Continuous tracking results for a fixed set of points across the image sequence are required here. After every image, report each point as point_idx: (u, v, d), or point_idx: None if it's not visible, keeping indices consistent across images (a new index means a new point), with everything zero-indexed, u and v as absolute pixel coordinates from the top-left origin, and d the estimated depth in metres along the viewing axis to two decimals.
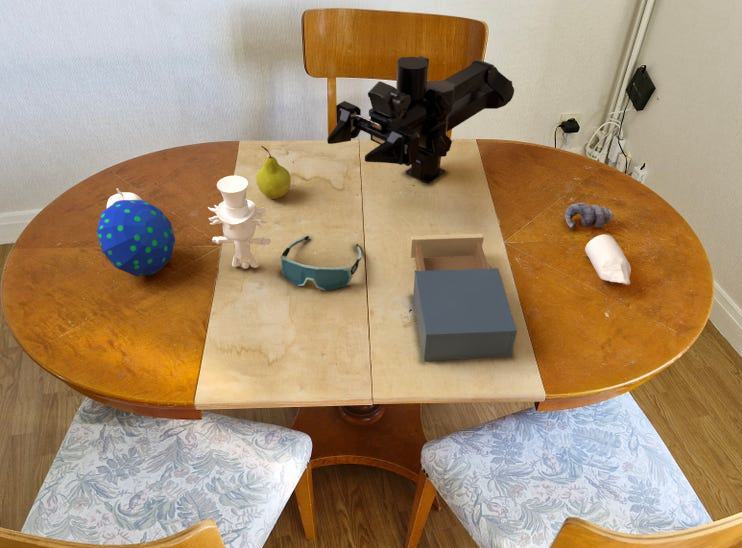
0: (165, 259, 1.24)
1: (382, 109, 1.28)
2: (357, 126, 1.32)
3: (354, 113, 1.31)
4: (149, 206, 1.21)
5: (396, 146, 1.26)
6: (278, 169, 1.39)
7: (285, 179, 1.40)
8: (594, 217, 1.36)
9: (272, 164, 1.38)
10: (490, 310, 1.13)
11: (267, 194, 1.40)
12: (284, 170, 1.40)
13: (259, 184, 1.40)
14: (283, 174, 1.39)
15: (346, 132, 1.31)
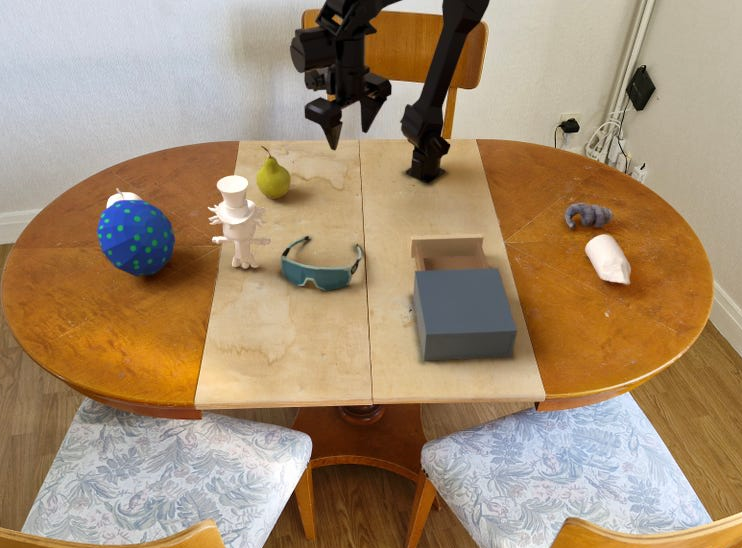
0: (165, 259, 1.24)
1: None
2: None
3: None
4: (149, 206, 1.21)
5: None
6: (278, 169, 1.39)
7: (285, 179, 1.40)
8: (594, 217, 1.36)
9: (272, 164, 1.38)
10: (490, 310, 1.13)
11: (267, 194, 1.40)
12: (284, 170, 1.40)
13: (259, 184, 1.40)
14: (283, 174, 1.39)
15: (368, 106, 1.33)
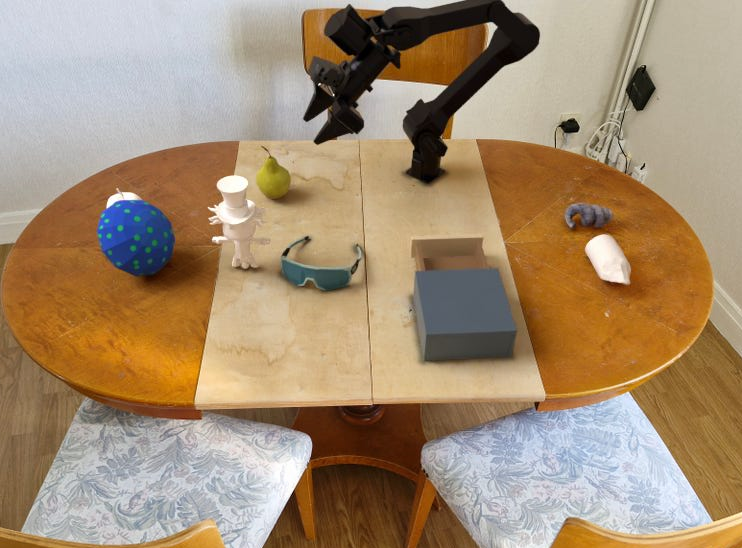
0: (165, 259, 1.24)
1: None
2: None
3: None
4: (149, 206, 1.21)
5: None
6: (278, 169, 1.39)
7: (285, 179, 1.40)
8: (594, 217, 1.36)
9: (272, 164, 1.38)
10: (490, 310, 1.13)
11: (267, 194, 1.40)
12: (284, 170, 1.40)
13: (259, 184, 1.40)
14: (283, 174, 1.39)
15: (323, 100, 1.38)
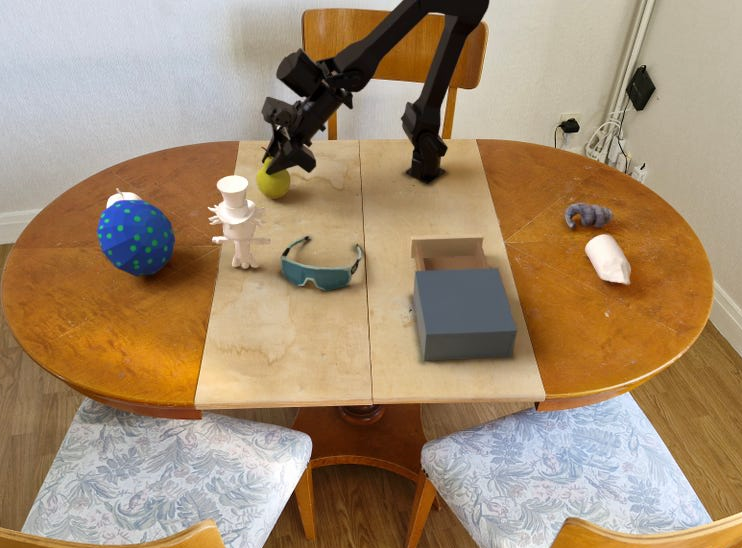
0: (165, 259, 1.24)
1: None
2: None
3: None
4: (149, 206, 1.21)
5: None
6: None
7: (285, 180, 1.39)
8: (594, 217, 1.36)
9: None
10: (490, 310, 1.13)
11: (267, 194, 1.40)
12: (284, 170, 1.40)
13: (259, 184, 1.40)
14: (283, 174, 1.39)
15: (282, 144, 1.39)
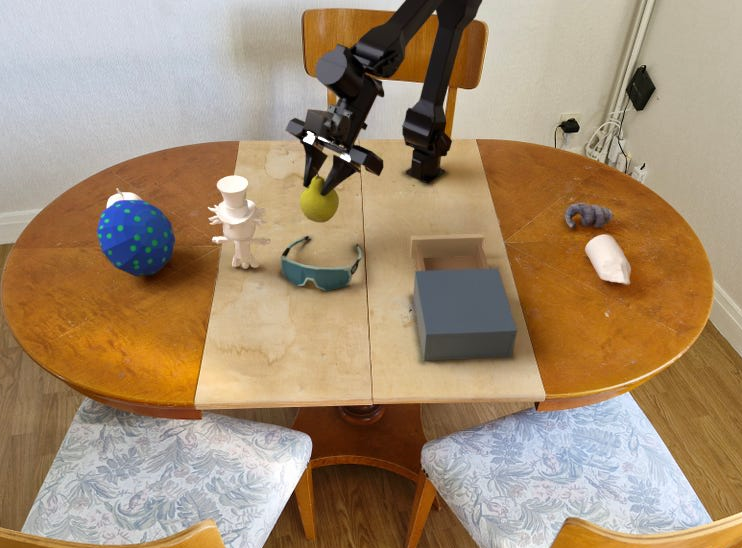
0: (165, 259, 1.24)
1: None
2: None
3: (316, 137, 1.21)
4: (149, 206, 1.21)
5: (345, 164, 1.19)
6: None
7: (337, 196, 1.25)
8: (594, 217, 1.36)
9: (323, 183, 1.22)
10: (490, 310, 1.13)
11: (323, 218, 1.24)
12: None
13: (313, 211, 1.23)
14: (332, 191, 1.24)
15: (318, 159, 1.23)
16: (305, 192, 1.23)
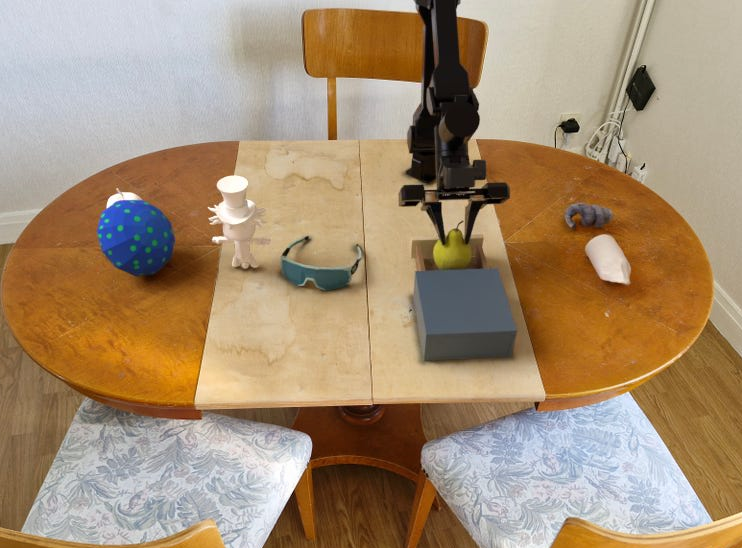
0: (165, 259, 1.24)
1: None
2: None
3: (438, 194, 1.18)
4: (149, 206, 1.21)
5: None
6: None
7: None
8: (594, 217, 1.36)
9: None
10: (490, 310, 1.13)
11: (467, 266, 1.23)
12: None
13: (462, 263, 1.21)
14: None
15: None
16: (446, 250, 1.20)
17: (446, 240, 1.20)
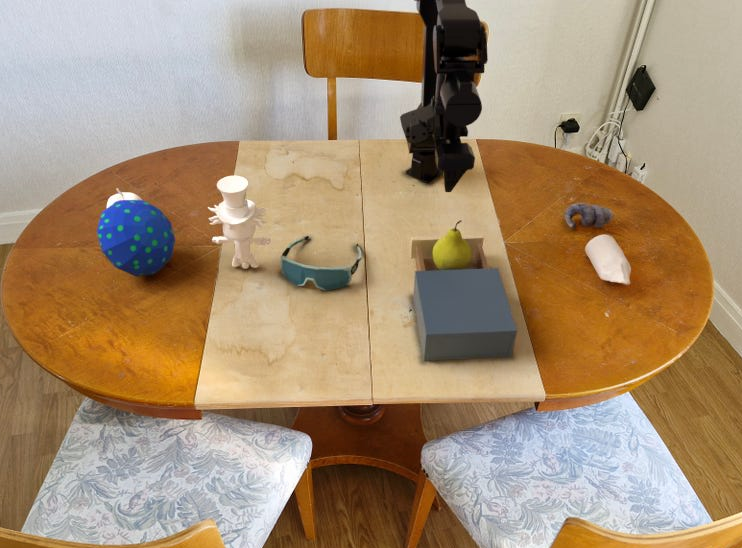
0: (165, 259, 1.24)
1: None
2: None
3: None
4: (149, 206, 1.21)
5: None
6: None
7: None
8: (594, 217, 1.36)
9: (460, 233, 1.20)
10: (490, 310, 1.13)
11: (467, 265, 1.23)
12: None
13: (461, 263, 1.21)
14: None
15: None
16: (445, 250, 1.20)
17: (445, 240, 1.21)
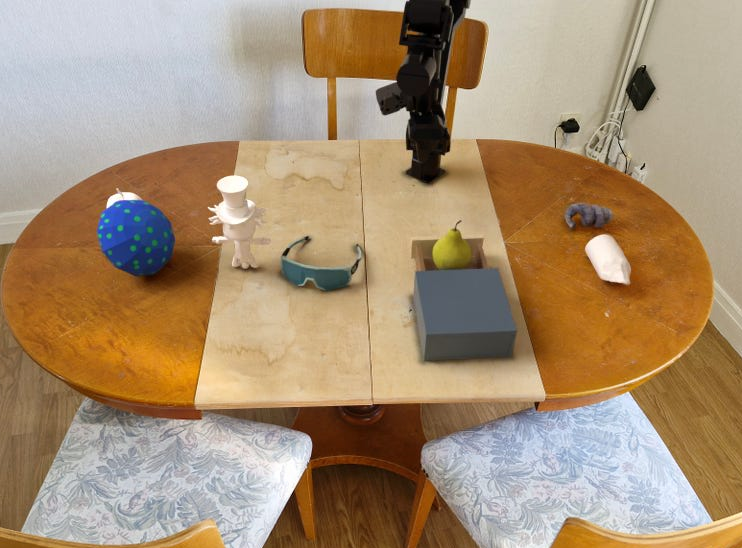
0: (165, 259, 1.24)
1: None
2: None
3: None
4: (149, 206, 1.21)
5: None
6: None
7: None
8: (594, 217, 1.36)
9: (460, 233, 1.20)
10: (490, 310, 1.13)
11: (467, 265, 1.23)
12: None
13: (461, 263, 1.21)
14: None
15: None
16: (445, 250, 1.20)
17: (445, 240, 1.21)
